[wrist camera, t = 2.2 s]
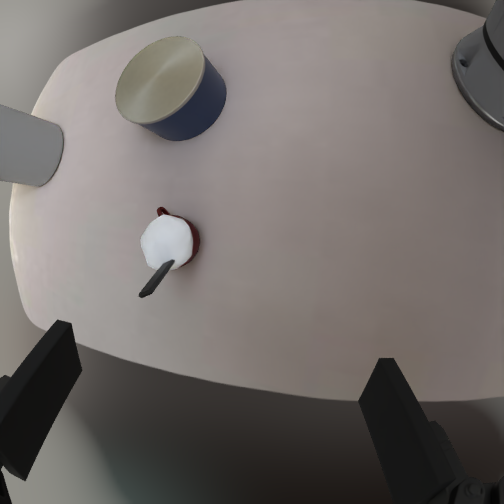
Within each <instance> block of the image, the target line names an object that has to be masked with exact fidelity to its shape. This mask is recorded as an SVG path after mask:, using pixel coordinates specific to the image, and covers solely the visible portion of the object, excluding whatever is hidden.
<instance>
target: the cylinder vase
mask: <svg viewBox="0 0 504 504" xmlns="http://www.w3.org/2000/svg"><path fill="white" fill-rule="evenodd" d="M62 149H63V135H62V131H61V129H60V128H59V126H58V125H56V124H54V123H51V122H49V121H46V120H43V119H41V118H38V117H35V116H32V115H29V114H27V113H24V112H21V111H18V110H15V109H12V108H9V107H7V106H4V105H0V181H6V182H12V183H19V184H25V185H31V186H41V185H43V184H45V183H46V182H47V181H48V180H49V179H50V178H51V176H52V175H53V174H54V172H55V170H56V168H57V166H58V164H59V161H60V158H61V154H62Z"/></svg>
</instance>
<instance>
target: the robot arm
mask: <svg viewBox="0 0 504 504" xmlns="http://www.w3.org/2000/svg"><path fill="white" fill-rule="evenodd" d="M452 71H453V75H454V78H455V81H456V83H457V85H458V87H459V89H460V91H461V93H462V94H463V96H464V97H465V99H466V100H467V102H468V103H469V104H470V105H471V107H472V108H473V109H474V110H475V111H476V112H477V113H478V114H479V115H480V116H481V117H482V118H483V119H484V120H486V121H487V122H488V123H490V124H491V125H493V126H494V127H496V128H498V129H500V130H502V131H504V0H496V2H495V4H494V6H493V8H492V10H491V12H490V14H489V16H488V17H487V19H486V21H485V23H484V25H483V26H482V27H480V28H478V29H477V30H475V31H474V32H472V33H470V34H469V35H467V36H466V37H464V38H463V39H462V40H460V42H459V43H458V44H457V46H456V48H455V50H454V52H453V55H452ZM81 372H82V367H81V363H80V359H79V356H78V351H77V347H76V343H75V338H74V333H73V329H72V324H71V323H69V322H65V321H61V320H56V322H55V323H54V324H53V325H52V326H51V328H50V329H49V330H48V331H47V332H46V334H45V335H44V336H43V337H42V338H41V340H40V341H39V342H38V343H37V345H36V346H35V347H34V348H33V350H32V351H31V352H30V353H29V354H28V356H27V357H26V358H25V360H24V361H23V362H22V363H21V365H20V366H19V367H18V369H17V370H16V371H15V373H14V374H13V375H12V377H9V376H6V375H4V376H3V377H1V378H0V504H12V502H11V499H10V496H9V493H8V490H7V486H6V483H5V479H4V476H3V473H2V471H1V468H2V466H4V467H5V468H6V469H7V470H8V471H9V473H11V474H13V475H14V476H16V477H18V478H20V479H22V480H24V481H26V479H27V477H28V474H29V472H30V470H31V468H32V466H33V463H34V461H35V459H36V457H37V455H38V453H39V451H40V449H41V447H42V445H43V442H44V440H45V439H46V437H47V434H48V433H49V431H50V428H51V427H52V424H53V423H54V421H55V419H56V417H57V415H58V413H59V411H60V409H61V408H62V406H63V404H64V402H65V400H66V398H67V397H68V395H69V393H70V391H71V389H72V388H73V386H74V384H75V382H76V381H77V379H78V377H79V375H80V374H81ZM358 402H359V404H360V407H361V410H362V412H363V415H364V418H365V421H366V423H367V426H368V429H369V432H370V435H371V438H372V440H373V443H374V446H375V449H376V452H377V455H378V458H379V461H380V464H381V467H382V470H383V473H384V475H385V479H386V482H387V485H388V488H389V491H390V494H391V497H392V500H393V503H394V504H504V476H503V477H502V478H501V479H500V480H499V481H498V482H495V483H482V482H481V481H480V480H479V479H477V478H474V477H468V475H467V474H466V472H465V470H464V468H463V466H462V464H461V462H460V460H459V458H458V456H457V454H456V452H455V450H454V448H452V444H451V442H450V441H449V440H448V439H449V438H448V436H447V435H446V433H445V431H444V429H443V428H442V427H441V426H440V425H439V424H438V423H437V422H436V421H432V422H428V420H427V418H426V416H425V414H424V412H423V410H422V408H421V406H420V405H419V403H418V401H417V399H416V397H415V395H414V393H413V392H412V390H411V388H410V386H409V384H408V383H407V381H406V379H405V377H404V375H403V374H402V372H401V370H400V368H399V367H398V365H397V363H396V361H395V360H394V358H379V359H378V362H377V364H376V366H375V368H374V370H373V372H372V374H371V377H370V379H369V381H368V383H367V385H366V387H365V389H364V391H363V393H362V395H361V397H360V399H359V400H358Z"/></svg>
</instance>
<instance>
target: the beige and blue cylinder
mask: <svg viewBox="0 0 504 504" xmlns="http://www.w3.org/2000/svg"><path fill="white" fill-rule="evenodd" d="M115 97H116V105H117V108H118V110H119V112H120V114H121V115H122V116H123V117H124V118H125V119H127V120H129V121H130V122H132V123H136V124H139V125H141V126H143V127H145V128H146V129H148V130H150V131H152V132H154V133H155V134H157V135H159V136H161V137H162V138H164V139H167V140H171V141H182V140H187V139H190V138H193V137H195V136H197V135H199V134H201V133H202V132H204V131H205V130H206V129H208V128H209V127H210V126H211V125H212V124H213V123H214V122H215V120H216V119H217V118H218V116H219V115H220V113H221V111H222V109H223V107H224V104H225V100H226V87H225V83H224V81H223V79H222V77H221V76H220V74H219V73H218V72H217V71H216V69H215V68H214V67H213V66H212V64H211V63H210V62H209V60H208V59H207V58H206V57H205V55H204V54H203V51H202V50H201V48H200V47H199V45H198V44H197V43H196V42H194V41H193V40H191V39H188V38H185V37H178V36H176V37H168V38H164V39H161V40H158V41H156V42H154V43H152V44H150V45H148V46H147V47H145V48H144V49H143V50H141V51H140V52H139V53H138V54H137V55H135V57H134V58H133V59H132V60H131V61H130V62H129V63H128V65H127V66H126V68H125V69H124V71H123V72H122V74H121V76H120V79H119V81H118V84H117V88H116V95H115Z"/></svg>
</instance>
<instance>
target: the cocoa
mask: <svg viewBox="0 0 504 504" xmlns="http://www.w3.org/2000/svg"><path fill="white" fill-rule="evenodd" d="M162 212H163V213H164V214H165V215H163V213H162ZM157 213H158V216H159V217H158V218H157V219H155V220H154V221H152V222H151V223H150V224H149V225H148V227H147V228H146V230H145V231H144V233H143V235H142V236H141V238H140V239H141V248H142V250H143V252H144V255H145V258H146V261H147V265H148V266H149V267H151V268H153V269H158V270H157V272H156V273H155V274H154V275H153V277H152V278H151V279H150V280H149V282H148V283H147V284H146V285H145V287H144V288H143V289H142V291H141V292H140V293H139V297H141V298H143V297H145V296H148V295H150V294H152V293H153V292H154V290H155V289H156V287H157V286H158V285H159V283H160V282H161V281H162V279H163V278H164V276H165V275H166V274H167V272H168V271H169V270H174V269H177V268H179V267H181V266H183V265H185V264H187V263H189V262H190V261H191V260H192V259H193V258H194V256H195V255H196V254H197V252H198V249H199V245H200V239H199V234H198V231H197V230H196V228H195V227H194V225H193V224H192V223H191V222H189V221H188V220H186V219H184V218H182V217H180V216H176V215H170V214H169V212H168V211H167V210H166V209H165V208H164V207H159V208H158V209H157Z"/></svg>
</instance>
